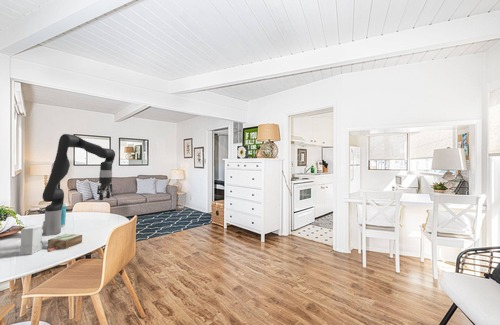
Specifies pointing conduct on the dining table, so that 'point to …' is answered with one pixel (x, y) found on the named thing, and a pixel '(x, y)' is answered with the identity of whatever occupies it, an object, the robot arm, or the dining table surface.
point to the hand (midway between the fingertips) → (104, 199)
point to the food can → (63, 215)
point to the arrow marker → (52, 249)
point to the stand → (65, 241)
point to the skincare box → (31, 239)
